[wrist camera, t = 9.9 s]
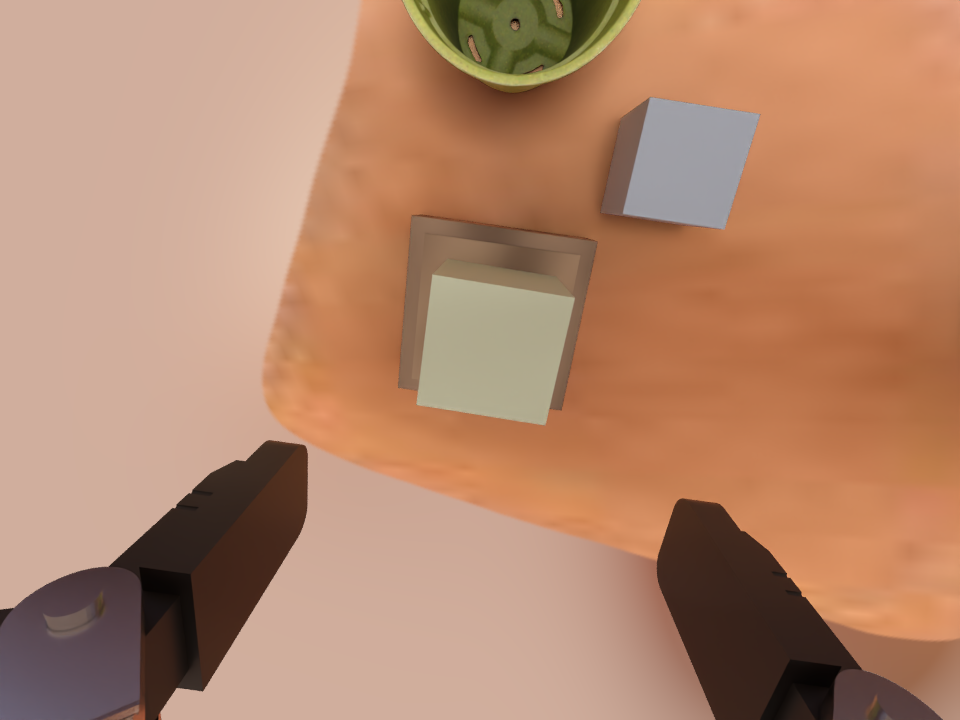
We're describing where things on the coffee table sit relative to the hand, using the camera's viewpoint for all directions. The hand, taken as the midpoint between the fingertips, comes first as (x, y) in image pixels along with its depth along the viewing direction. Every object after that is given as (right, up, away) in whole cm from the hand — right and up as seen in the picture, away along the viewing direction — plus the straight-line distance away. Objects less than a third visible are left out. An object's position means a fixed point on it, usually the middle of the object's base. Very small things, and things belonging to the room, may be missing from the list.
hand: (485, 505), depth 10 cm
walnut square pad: (+1, +6, +18) cm, 20 cm away
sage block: (+1, +5, +15) cm, 16 cm away
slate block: (+10, +14, +16) cm, 23 cm away
